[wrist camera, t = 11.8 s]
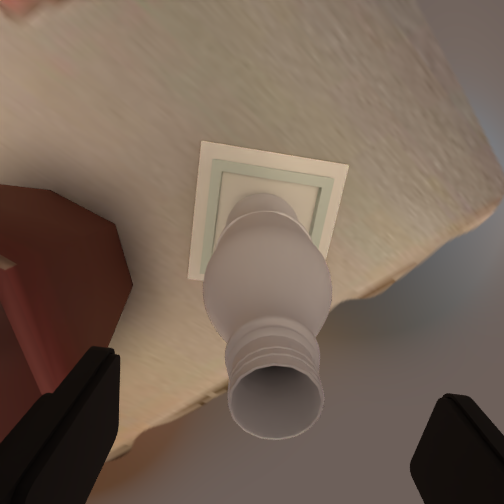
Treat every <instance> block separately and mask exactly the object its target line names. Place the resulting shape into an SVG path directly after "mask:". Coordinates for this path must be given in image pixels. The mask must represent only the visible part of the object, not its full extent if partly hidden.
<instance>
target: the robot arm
mask: <svg viewBox="0 0 504 504" xmlns="http://www.w3.org/2000/svg"><path fill="white" fill-rule="evenodd" d="M119 388H120V355H117V354H115V351H114V349H112V348H106V347H98V346H91V347H90V348H89V349H88V350H87V352H86V353H85V354H84V355H83V357H82V358H81V359H80V360H79V361H78V363H77V364H76V365H75V366H74V368H73V369H72V370H71V371H70V372H69V374H68V375H67V376H66V377H65V379H64V380H63V381H62V382H61V384H60V385H59V386H58V387H57V388H56V390H55V391H54V392H53V393H45V394H43V395H42V396H41V397H40V398H39V399H38V400H37V401H36V402H35V403H34V404H33V406H32V407H31V408H30V409H29V410H28V411H27V413H26V414H25V415H24V416H23V417H22V418H21V420H20V421H19V422H18V423H17V424H16V425H15V427H14V428H13V429H12V430H11V431H10V432H9V434H8V435H7V436H6V437H5V438H4V439H3V441H2V442H1V443H0V504H85V503H86V501H87V498H88V496H89V494H90V492H91V490H92V488H93V486H94V484H95V482H96V479H97V477H98V475H99V473H100V471H101V469H102V466H103V465H104V462H105V460H106V458H107V456H108V454H109V452H110V450H111V448H112V446H113V443H114V441H115V439H116V436H117V432H118V426H119ZM410 472H411V476H412V478H413V480H414V482H415V485H416V487H417V489H418V490H419V493H420V495H421V497H422V499H423V501H424V503H425V504H504V435H503V434H502V433H501V432H500V431H499V430H498V428H497V427H496V426H495V425H494V424H493V423H492V421H491V420H490V419H489V418H488V417H487V416H486V415H485V413H484V412H483V411H482V410H481V409H480V408H479V406H478V405H477V404H476V403H475V402H474V401H473V400H472V399H471V398H470V397H468V396H465V395H457V394H450V393H449V394H448V393H447V394H445V395H443V397H442V398H440V399H438V401H437V403H436V405H435V407H434V409H433V412H432V414H431V417H430V419H429V421H428V423H427V426H426V428H425V430H424V432H423V435H422V437H421V439H420V441H419V444H418V446H417V449H416V451H415V453H414V455H413V458H412V460H411V463H410Z"/></svg>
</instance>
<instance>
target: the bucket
mask: <svg viewBox="0 0 504 504" xmlns="http://www.w3.org/2000/svg"><path fill="white" fill-rule="evenodd" d="M132 286H133V284H132V280H131V277H130V273H129V270H128V267H127V263H126V260H125V256H124V253H123V250H122V246H121V243H120V240H119V236H118V233H117V229H116V226H115V224H114V223H112V222H110V221H108V220H106V219H104V218H102V217H100V216H98V215H97V214H95V213H93V212H91V211H89V210H87V209H85V208H83V207H81V206H79V205H78V204H76V203H74V202H72V201H70V200H68V199H66V198H64V197H62V196H60V195H59V194H57V193H55V192H53V191H51V190H43V189H35V188H27V187H18V186H10V185H1V184H0V443H1V442H2V441H3V439H4V438H5V437H6V436H7V435H8V434H9V432H10V431H11V430H12V429H13V428H14V427H15V425H16V424H17V423H18V422H19V421H20V420H21V418H22V417H23V416H24V415H25V414H26V413H27V411H28V410H29V409H30V408H31V407H32V406H33V404H34V403H35V402H36V401H37V400H38V399H39V398H40V397H41V396H42V395H43V394H45V393H53V392H54V391H55V390H56V388H57V387H58V386H59V385H60V384H61V382H62V381H63V380H64V379H65V377H66V376H67V375H68V374H69V372H70V371H71V370H72V369H73V368H74V366H75V365H76V364H77V363H78V361H79V360H80V359H81V358H82V357H83V355H84V354H85V353H86V352H87V350H88V349H89V348H90V347H91V346H98V347H106V348H108V345H109V343H110V341H111V338H112V336H113V333H114V331H115V328H116V326H117V323H118V321H119V318H120V316H121V313H122V311H123V308H124V306H125V304H126V301H127V299H128V296H129V294H130V291H131V289H132Z"/></svg>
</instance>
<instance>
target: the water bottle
mask: <svg viewBox="0 0 504 504" xmlns="http://www.w3.org/2000/svg"><path fill="white" fill-rule="evenodd" d="M203 298H204V303H205V308H206V311H207V314H208V316H209V319H210V321H211V323H212V324H213V326H214V328H215V329H216V331H217V332H218V333H219V335H220V336H221V337H222V338H223V339H224V340H225V341H226V343H227V346H226V350H225V364H226V367H227V372H228V376H229V384H228V407H229V410H230V412H231V415H232V418H233V420H234V421H235V422H236V423H237V424H238V425H239V426H240V427H241V428H242V429H243V430H244V431H245V432H248V433H250V434H252V435H254V436H256V437H259V438H262V439H271V440H282V439H287V438H292V437H296V436H298V435H300V434H301V433H303V432H305V431H307V430H308V429H310V428H311V427H312V426H313V424H314V423H315V422H316V421H317V420H318V419H319V417H320V416H321V412H322V408H323V406H324V397H325V394H324V391H323V387H322V384H321V379H320V375H319V366H320V365H319V363H320V350H319V346H318V343H317V340H316V338H315V337H316V336H317V334H318V333H319V331H320V329H321V327H322V326H323V324H324V322H325V320H326V318H327V316H328V313H329V309H330V305H331V301H332V282H331V276H330V272H329V269H328V266H327V263H326V261H325V259H324V257H323V255H322V254H321V253H320V251H319V250H318V249H317V247H316V246H315V245H314V244H313V242H312V240H311V237H310V235H309V233H308V232H307V230H306V229H305V227H304V226H303V225H302V224H301V223H300V222H299V221H298V218H297V215H296V213H295V212H294V210H293V208H292V207H291V206H290V205H289V204H288V203H287V202H286V201H284V200H283V199H282V198H280V197H278V196H276V195H272V194H268V193H259V194H254V195H250V196H247V197H245V198H243V199H242V200H241V201H239V202H238V203H237V204H236V205H235V206H234V207H233V209H232V210H231V212H230V214H229V216H228V218H227V221H226V225H225V228H224V230H223V231H222V233H221V234H220V237H219V239H218V242H217V244H216V249H215V252H214V253H213V255H212V257H211V259H210V260H209V262H208V264H207V268H206V271H205V275H204V281H203Z"/></svg>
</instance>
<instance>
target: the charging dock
mask: <svg viewBox="0 0 504 504" xmlns="http://www.w3.org/2000/svg"><path fill="white" fill-rule="evenodd" d="M348 168H349V165H346V164H340V163H334V162H328V161H322V160H316V159H310V158H304V157H298V156H292V155H286V154H280V153H274V152H268V151H262V150H256V149H249V148H243V147H237V146H231V145H225V144H219V143H213V142H207V141H201V149H200V159H199V169H198V179H197V188H196V198H195V208H194V218H193V228H192V238H191V248H190V258H189V268H188V278H187V279H192V280H199V281H204V275H205V271H206V268H207V264H208V262H209V260H210V259H211V257H212V255H213V253H214V252H215V249H216V244H217V242H218V239H219V237H220V234H221V233H222V231H223V230H224V228H225V225H226V221H227V218H228V216H229V214H230V212H231V210H232V209H233V207H234V206H235V205H236V204H237V203H238V202H239V201H241V200H242V199H243V198H245V197H247V196H250V195H254V194H259V193H268V194H272V195H276V196H278V197H280V198H282V199H283V200H284V201H286V202H287V203H288V204H289V205H290V206H291V207H292V208H293V210H294V212H295V213H296V215H297V218H298V221H299V222H300V223H301V224H302V225H303V226H304V227H305V229H306V230H307V232H308V233H309V235H310V237H311V240H312V242H313V244H314V245H315V246H316V247H317V249H318V250H319V251H320V253H321V254H322V255H323V257H324V259H325V261H326V258H327V254H328V250H329V246H330V242H331V238H332V233H333V229H334V225H335V221H336V217H337V213H338V209H339V205H340V201H341V197H342V192H343V188H344V184H345V180H346V176H347V172H348Z"/></svg>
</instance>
